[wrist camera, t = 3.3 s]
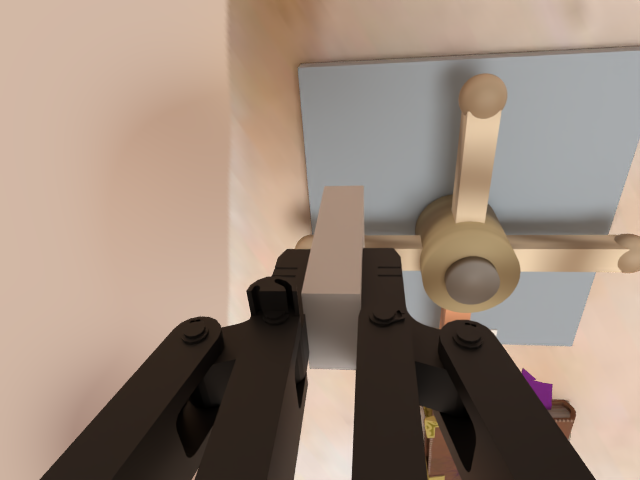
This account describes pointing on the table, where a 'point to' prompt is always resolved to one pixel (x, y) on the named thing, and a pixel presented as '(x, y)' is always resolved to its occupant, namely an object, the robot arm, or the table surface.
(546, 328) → the plate
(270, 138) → the table surface
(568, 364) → the table surface
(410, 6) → the table surface
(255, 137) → the table surface
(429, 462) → the book
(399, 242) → the capstan
